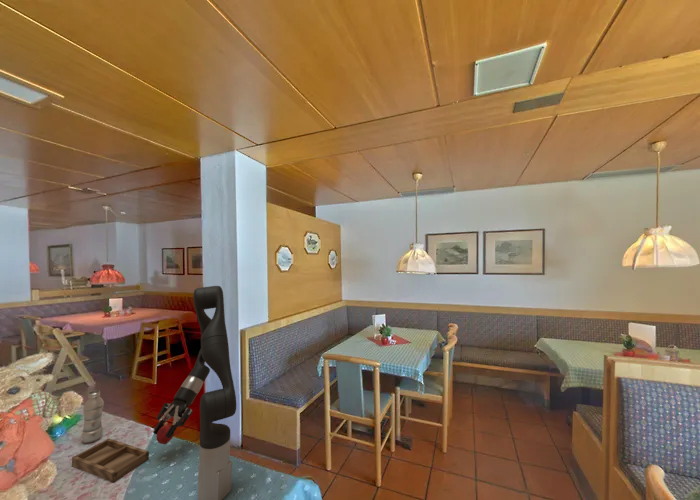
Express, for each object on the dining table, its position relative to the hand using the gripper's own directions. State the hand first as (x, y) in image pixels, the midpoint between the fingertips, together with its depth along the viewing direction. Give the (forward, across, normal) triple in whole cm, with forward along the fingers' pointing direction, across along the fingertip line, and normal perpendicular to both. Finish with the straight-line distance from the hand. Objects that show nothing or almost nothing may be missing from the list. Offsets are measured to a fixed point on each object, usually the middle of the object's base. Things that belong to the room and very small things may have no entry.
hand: (161, 435), depth 106 cm
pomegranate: (+2, 0, +4) cm, 5 cm away
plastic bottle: (+7, -39, +7) cm, 41 cm away
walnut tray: (+11, -17, +2) cm, 21 cm away
